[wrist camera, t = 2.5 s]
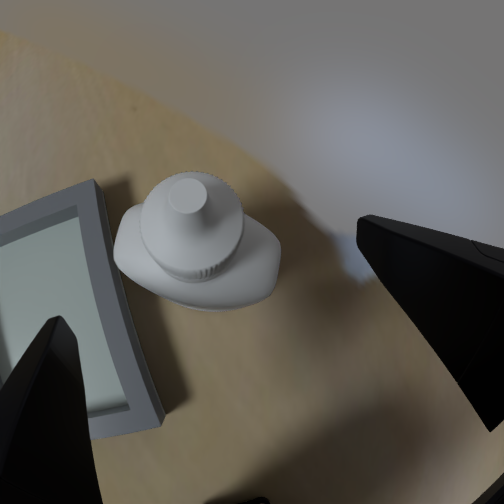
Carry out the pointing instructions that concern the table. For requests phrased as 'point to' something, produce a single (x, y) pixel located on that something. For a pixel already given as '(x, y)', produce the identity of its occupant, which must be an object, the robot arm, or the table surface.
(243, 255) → the eye dropper bottle
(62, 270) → the gray rectangular tray
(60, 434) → the robot arm
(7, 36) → the table surface
